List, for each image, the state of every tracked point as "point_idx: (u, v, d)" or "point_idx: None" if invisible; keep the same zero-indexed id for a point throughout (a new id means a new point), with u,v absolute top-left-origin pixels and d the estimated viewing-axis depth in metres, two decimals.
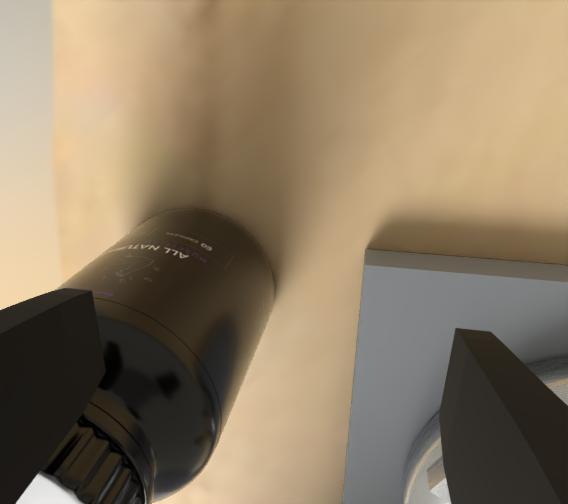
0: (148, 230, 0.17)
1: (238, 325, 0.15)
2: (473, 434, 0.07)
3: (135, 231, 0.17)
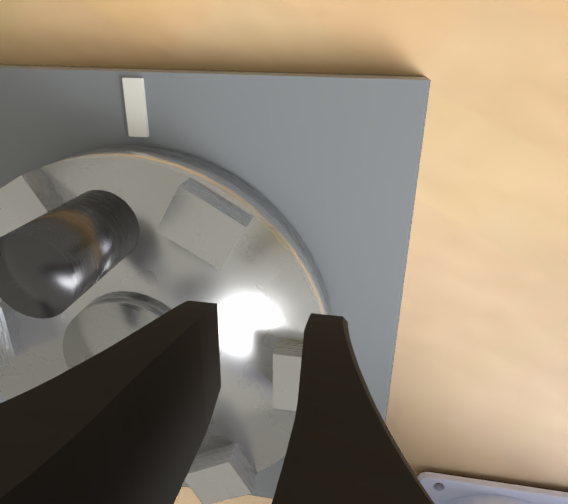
0: None
1: None
2: None
3: None
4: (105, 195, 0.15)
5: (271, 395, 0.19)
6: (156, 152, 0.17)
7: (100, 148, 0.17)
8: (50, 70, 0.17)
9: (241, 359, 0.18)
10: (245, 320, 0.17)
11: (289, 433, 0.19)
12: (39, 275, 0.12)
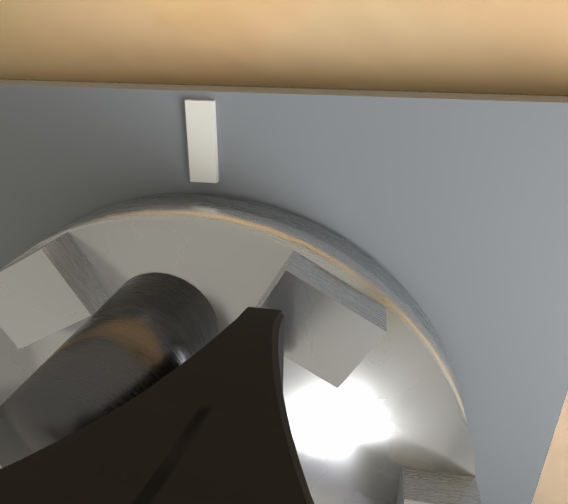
0: None
1: None
2: None
3: None
4: (171, 283, 0.10)
5: None
6: (234, 207, 0.12)
7: (149, 198, 0.12)
8: (80, 89, 0.12)
9: (343, 489, 0.13)
10: (355, 441, 0.12)
11: None
12: None
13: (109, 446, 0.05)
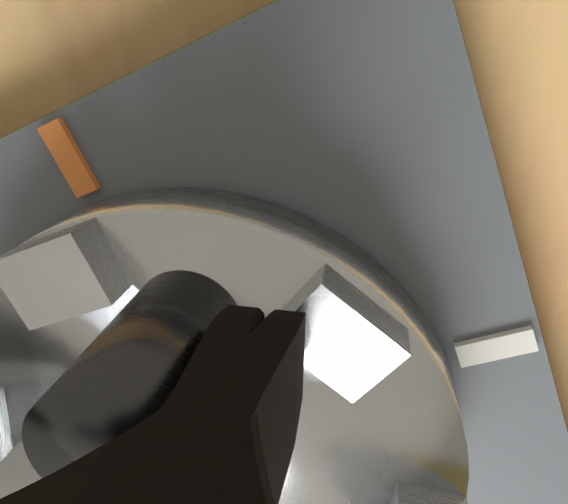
0: None
1: None
2: None
3: None
4: (204, 285, 0.10)
5: None
6: (265, 210, 0.12)
7: (177, 190, 0.12)
8: (511, 228, 0.12)
9: (335, 498, 0.13)
10: (356, 453, 0.12)
11: None
12: None
13: (151, 453, 0.05)
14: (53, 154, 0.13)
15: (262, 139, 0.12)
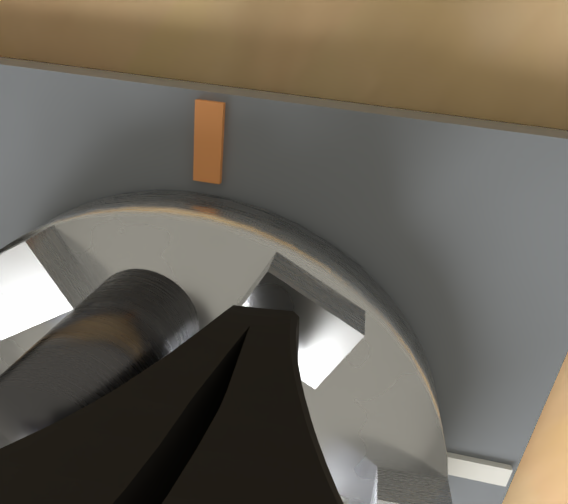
0: None
1: None
2: None
3: None
4: (153, 281, 0.10)
5: None
6: (219, 206, 0.12)
7: (136, 194, 0.12)
8: (547, 394, 0.13)
9: None
10: (332, 441, 0.12)
11: None
12: None
13: (77, 441, 0.05)
14: (196, 131, 0.12)
15: (402, 226, 0.12)
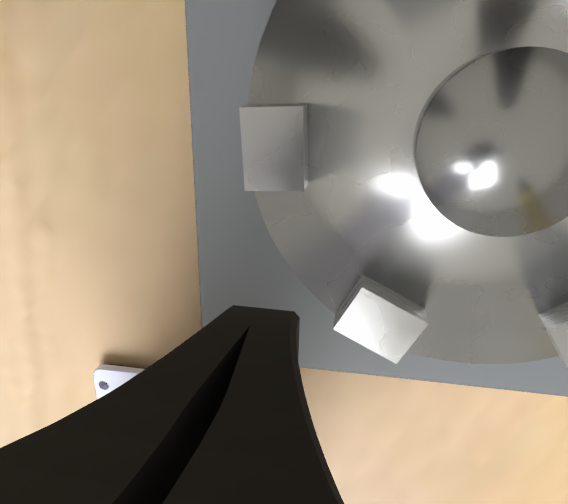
0: None
1: None
2: None
3: None
4: None
5: None
6: None
7: None
8: None
9: None
10: None
11: None
12: None
13: (77, 441, 0.05)
14: None
15: None
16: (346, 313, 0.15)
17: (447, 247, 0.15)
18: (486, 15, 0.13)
